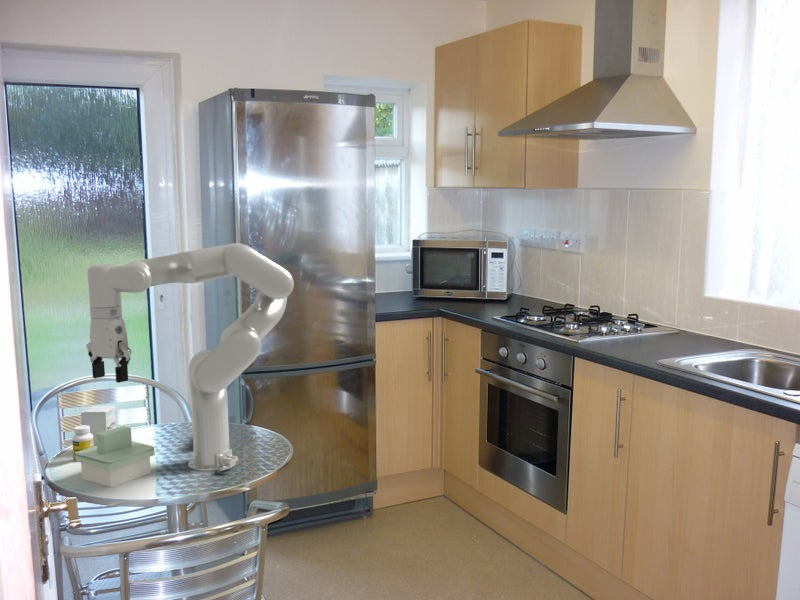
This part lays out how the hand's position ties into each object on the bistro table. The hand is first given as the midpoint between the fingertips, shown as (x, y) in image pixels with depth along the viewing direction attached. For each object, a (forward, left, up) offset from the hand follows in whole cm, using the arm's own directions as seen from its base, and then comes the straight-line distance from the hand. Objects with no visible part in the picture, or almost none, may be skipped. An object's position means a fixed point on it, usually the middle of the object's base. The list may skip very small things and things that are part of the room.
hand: (110, 379), depth 194 cm
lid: (0, 0, -21) cm, 21 cm away
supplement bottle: (+20, -4, -26) cm, 33 cm away
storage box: (0, 0, -26) cm, 26 cm away
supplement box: (+24, -12, -26) cm, 37 cm away
